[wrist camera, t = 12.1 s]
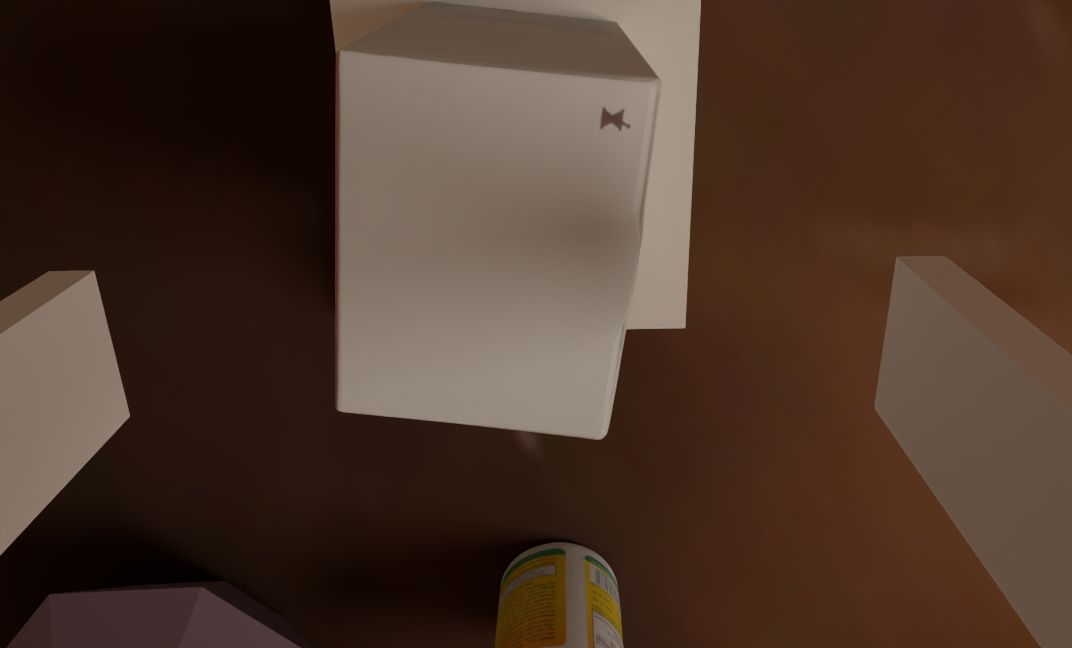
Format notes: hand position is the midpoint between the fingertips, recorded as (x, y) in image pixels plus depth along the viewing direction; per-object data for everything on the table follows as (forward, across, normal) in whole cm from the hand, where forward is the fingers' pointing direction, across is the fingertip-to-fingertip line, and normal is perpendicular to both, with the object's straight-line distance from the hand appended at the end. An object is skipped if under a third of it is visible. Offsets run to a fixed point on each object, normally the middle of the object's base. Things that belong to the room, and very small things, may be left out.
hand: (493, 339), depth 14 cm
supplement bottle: (+18, -1, +21) cm, 28 cm away
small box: (+17, 0, 0) cm, 17 cm away
